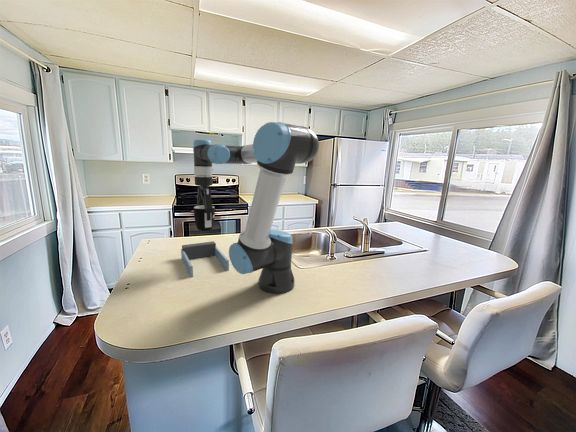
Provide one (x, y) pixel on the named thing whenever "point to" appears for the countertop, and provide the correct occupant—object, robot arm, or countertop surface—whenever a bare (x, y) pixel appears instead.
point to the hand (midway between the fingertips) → (204, 224)
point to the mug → (202, 217)
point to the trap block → (199, 250)
